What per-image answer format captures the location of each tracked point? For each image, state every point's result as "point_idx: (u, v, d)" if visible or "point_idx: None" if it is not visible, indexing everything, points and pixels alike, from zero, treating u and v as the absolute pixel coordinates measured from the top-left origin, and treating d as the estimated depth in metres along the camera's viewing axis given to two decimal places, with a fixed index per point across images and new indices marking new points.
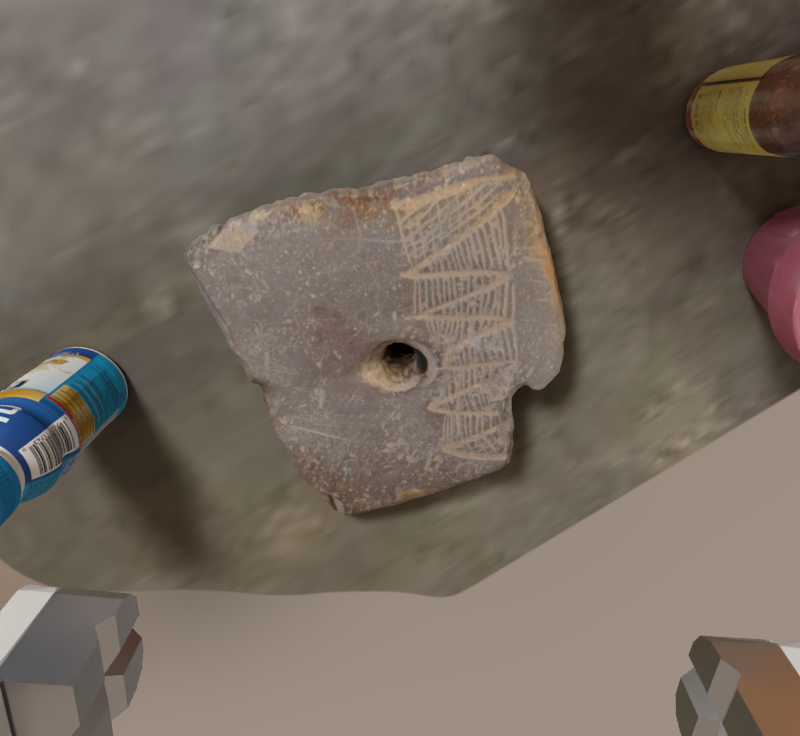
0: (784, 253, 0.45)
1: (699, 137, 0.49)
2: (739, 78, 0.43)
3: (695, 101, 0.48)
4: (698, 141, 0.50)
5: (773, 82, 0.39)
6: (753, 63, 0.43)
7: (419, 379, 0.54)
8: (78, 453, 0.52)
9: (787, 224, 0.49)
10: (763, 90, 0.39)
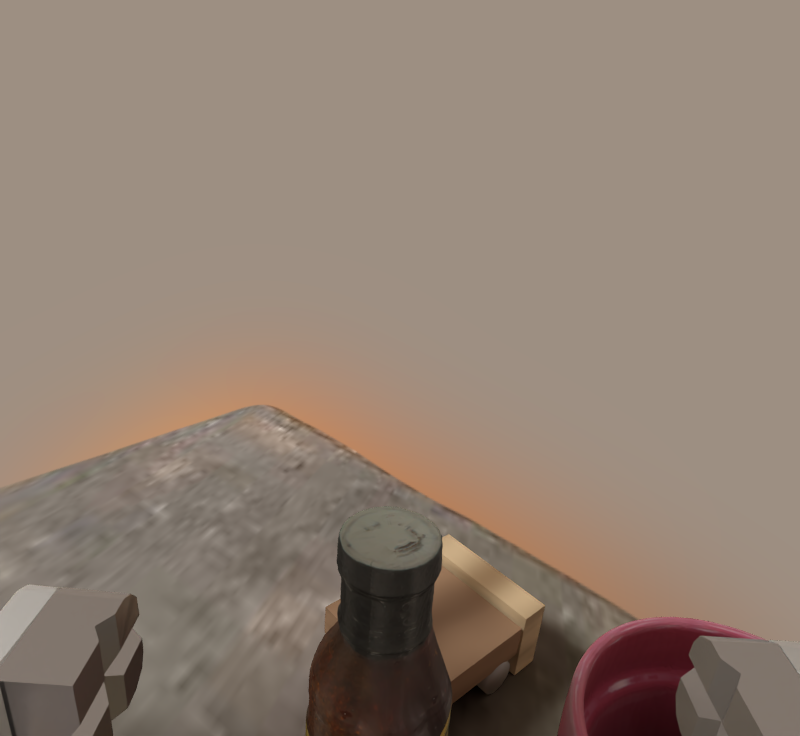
0: None
1: None
2: None
3: None
4: None
5: (311, 703, 0.26)
6: None
7: None
8: None
9: None
10: (314, 724, 0.26)
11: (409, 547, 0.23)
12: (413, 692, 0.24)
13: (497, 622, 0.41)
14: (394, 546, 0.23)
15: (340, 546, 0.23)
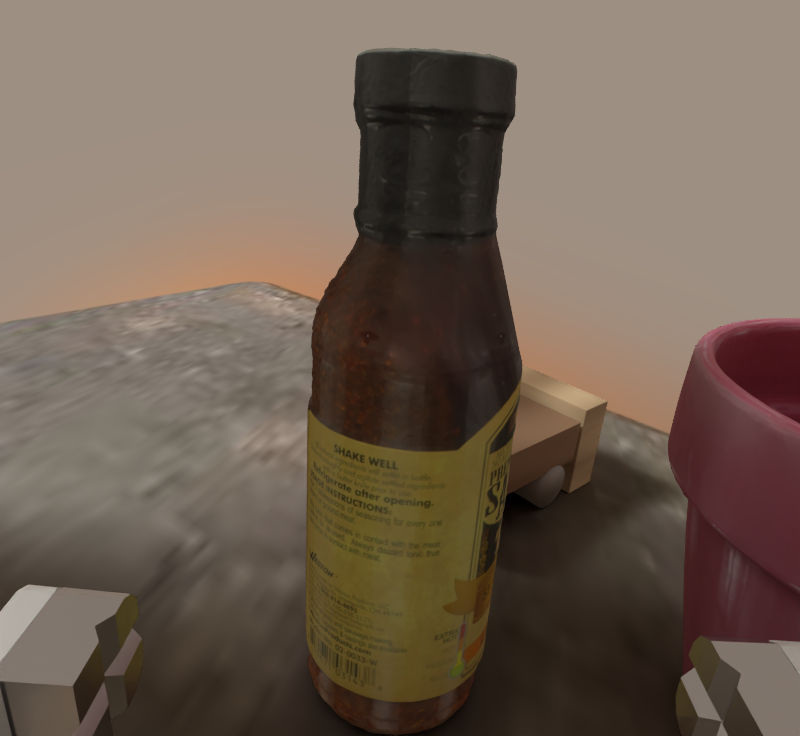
0: (776, 567, 0.15)
1: (389, 691, 0.19)
2: (307, 496, 0.19)
3: (316, 656, 0.20)
4: (407, 719, 0.20)
5: (315, 360, 0.17)
6: None
7: None
8: None
9: None
10: (319, 389, 0.17)
11: None
12: (471, 312, 0.16)
13: (549, 417, 0.32)
14: None
15: (359, 58, 0.15)
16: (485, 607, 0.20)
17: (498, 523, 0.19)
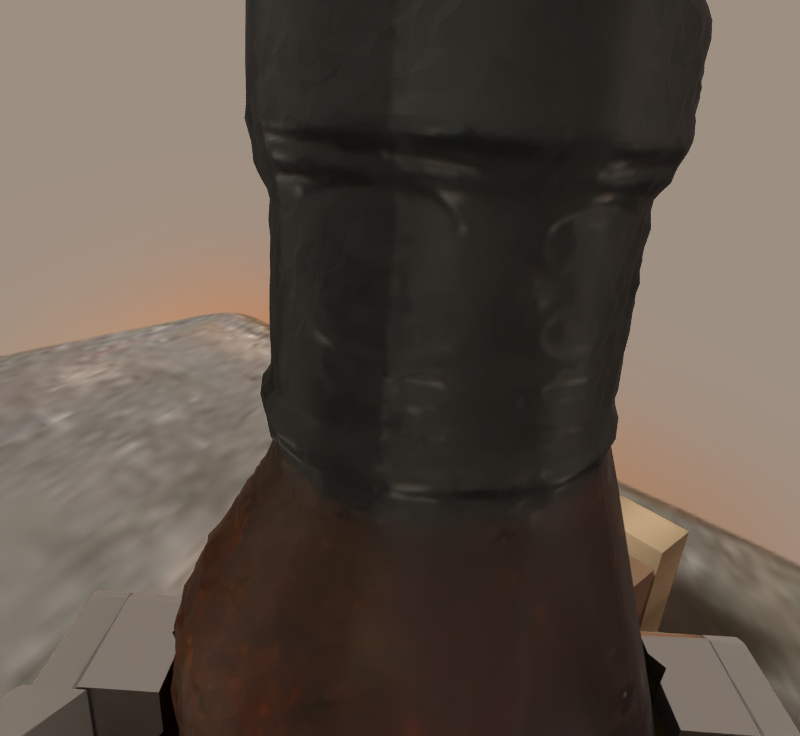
0: None
1: None
2: None
3: None
4: None
5: None
6: None
7: None
8: None
9: None
10: None
11: None
12: (561, 670, 0.06)
13: None
14: None
15: None
16: None
17: None
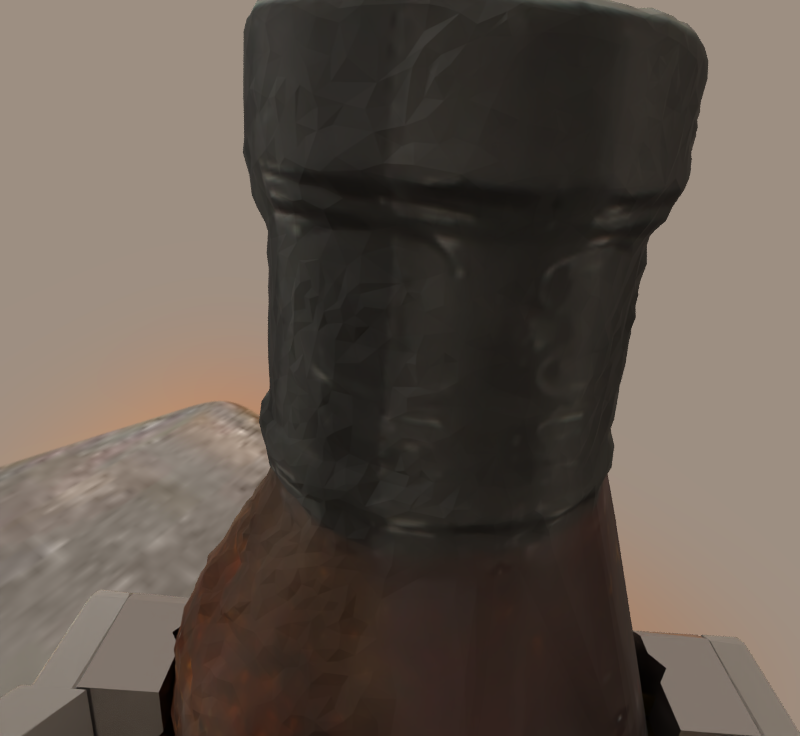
0: None
1: None
2: None
3: None
4: None
5: None
6: None
7: None
8: None
9: None
10: None
11: None
12: (556, 697, 0.06)
13: None
14: None
15: (246, 23, 0.05)
16: None
17: None
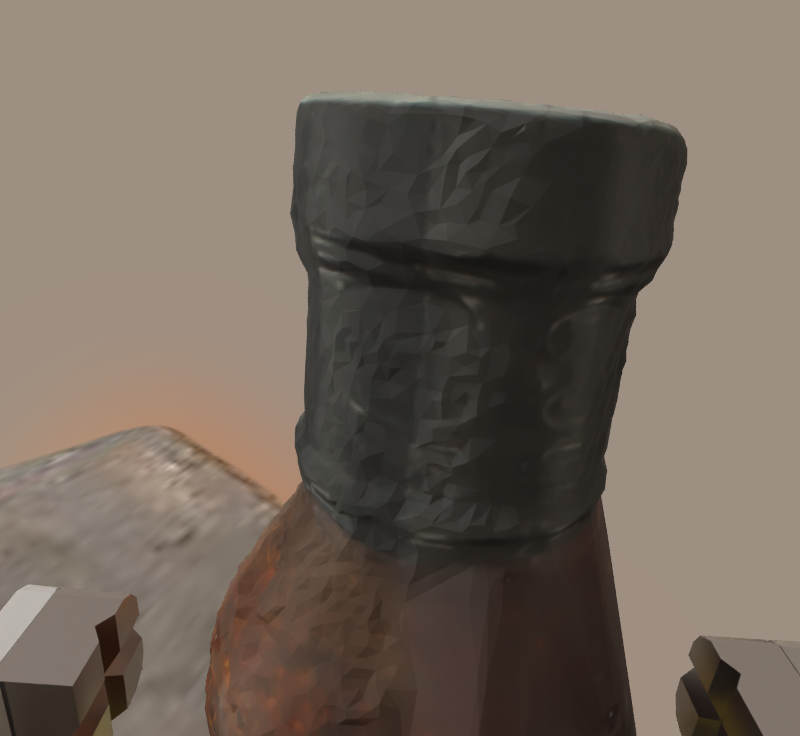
0: None
1: None
2: None
3: None
4: None
5: (210, 727, 0.08)
6: None
7: None
8: None
9: None
10: None
11: None
12: (555, 693, 0.07)
13: None
14: None
15: (301, 111, 0.06)
16: None
17: None
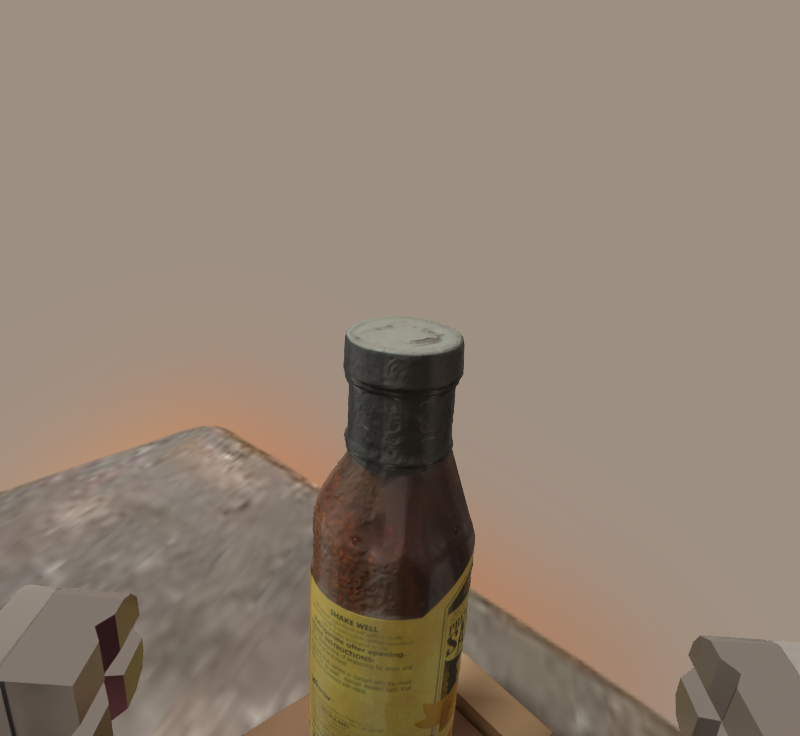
0: None
1: None
2: (310, 632, 0.25)
3: None
4: None
5: (315, 541, 0.23)
6: None
7: None
8: None
9: None
10: (319, 565, 0.23)
11: (427, 341, 0.20)
12: (432, 517, 0.21)
13: None
14: (409, 339, 0.20)
15: (347, 341, 0.20)
16: (449, 716, 0.25)
17: (458, 655, 0.24)
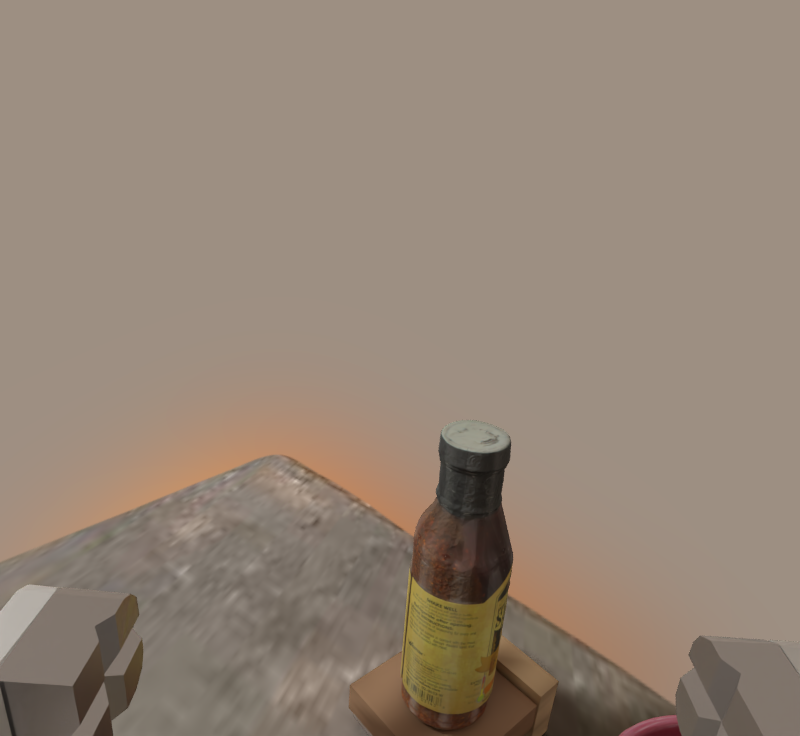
0: None
1: (448, 708, 0.39)
2: (407, 613, 0.39)
3: (410, 690, 0.40)
4: (455, 722, 0.40)
5: (417, 556, 0.37)
6: None
7: None
8: None
9: None
10: (419, 571, 0.37)
11: (490, 441, 0.35)
12: (490, 543, 0.36)
13: (513, 699, 0.43)
14: (480, 440, 0.35)
15: (443, 441, 0.35)
16: (494, 667, 0.40)
17: (501, 628, 0.39)
